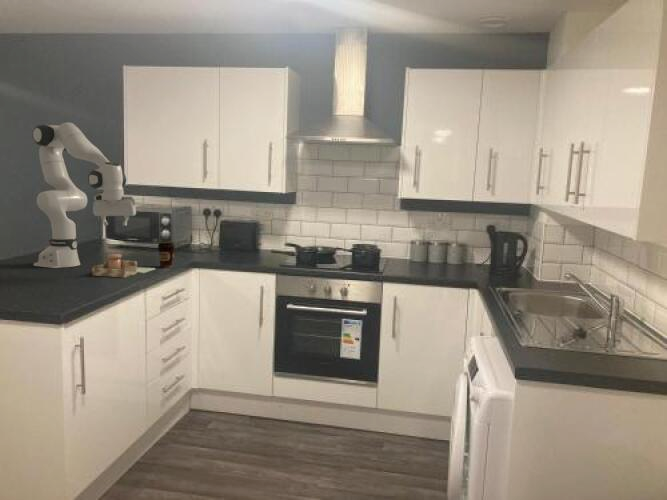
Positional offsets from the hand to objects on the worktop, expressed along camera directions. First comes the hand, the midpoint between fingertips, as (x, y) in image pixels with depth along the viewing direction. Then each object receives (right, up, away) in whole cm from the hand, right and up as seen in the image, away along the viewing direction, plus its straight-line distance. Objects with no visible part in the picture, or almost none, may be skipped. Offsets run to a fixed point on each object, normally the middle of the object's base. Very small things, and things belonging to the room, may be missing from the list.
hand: (115, 225), depth 277 cm
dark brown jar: (+17, -21, +26) cm, 37 cm away
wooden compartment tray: (-1, -24, +2) cm, 24 cm away
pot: (-1, -24, +2) cm, 24 cm away
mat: (+6, -22, +14) cm, 27 cm away
